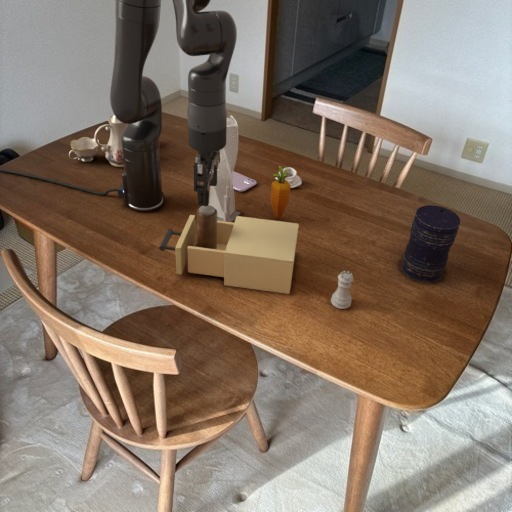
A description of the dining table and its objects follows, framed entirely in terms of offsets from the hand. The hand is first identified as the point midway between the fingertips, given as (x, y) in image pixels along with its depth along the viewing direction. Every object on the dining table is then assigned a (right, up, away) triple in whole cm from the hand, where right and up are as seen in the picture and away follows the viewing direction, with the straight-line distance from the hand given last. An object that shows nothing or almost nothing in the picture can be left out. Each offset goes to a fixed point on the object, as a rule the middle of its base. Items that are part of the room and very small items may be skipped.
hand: (207, 194), depth 112 cm
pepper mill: (-1, -13, +10) cm, 16 cm away
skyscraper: (+1, -2, +28) cm, 28 cm away
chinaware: (-32, +17, +51) cm, 62 cm away
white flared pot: (+20, +8, +43) cm, 48 cm away
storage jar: (+50, -16, +13) cm, 54 cm away
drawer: (-2, -14, +10) cm, 17 cm away
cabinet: (+11, -16, +10) cm, 22 cm away
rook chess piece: (+29, -23, +2) cm, 37 cm away
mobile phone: (+3, +9, +43) cm, 44 cm away
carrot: (+16, -3, +27) cm, 32 cm away
